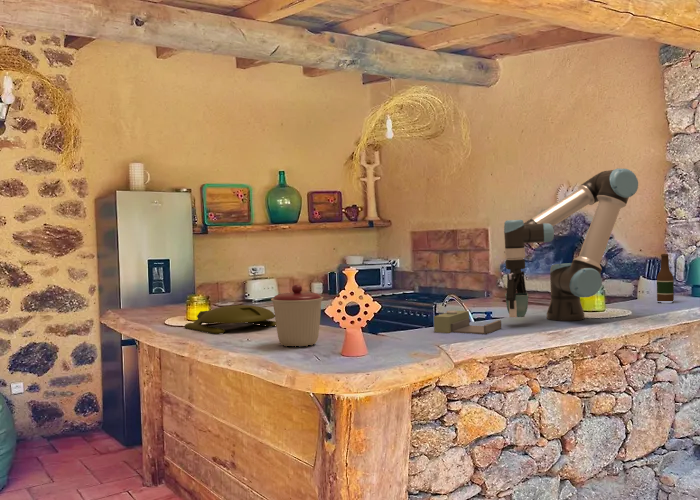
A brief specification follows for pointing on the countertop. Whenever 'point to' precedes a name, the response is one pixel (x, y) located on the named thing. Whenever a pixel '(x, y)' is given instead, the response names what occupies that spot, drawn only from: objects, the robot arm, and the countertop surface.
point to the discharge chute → (474, 327)
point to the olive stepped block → (448, 320)
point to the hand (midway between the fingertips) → (517, 315)
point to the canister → (297, 317)
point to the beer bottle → (665, 281)
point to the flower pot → (520, 303)
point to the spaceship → (231, 317)
